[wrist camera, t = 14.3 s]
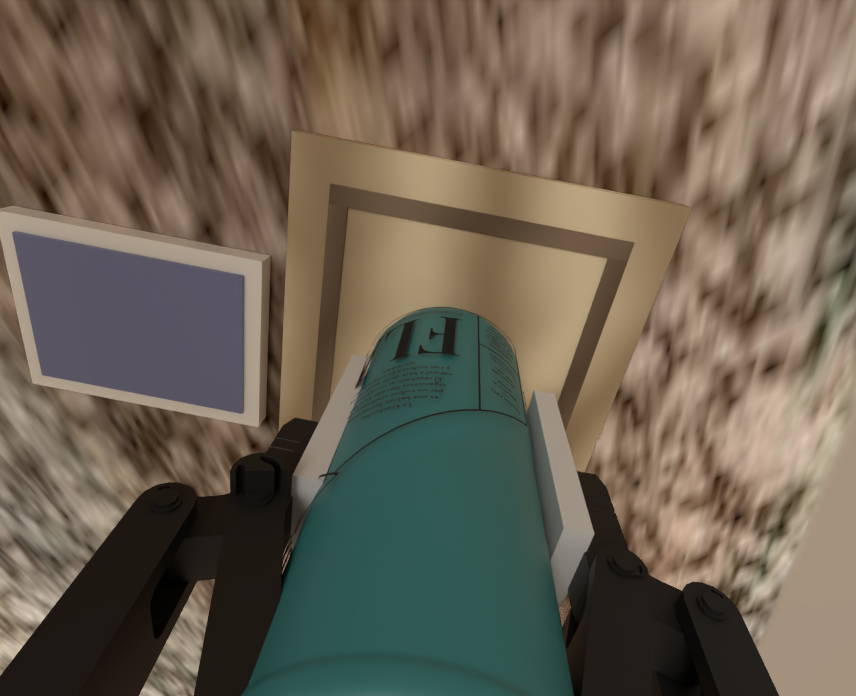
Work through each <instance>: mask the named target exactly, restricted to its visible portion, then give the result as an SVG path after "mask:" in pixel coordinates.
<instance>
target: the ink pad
mask: <svg viewBox="0 0 856 696" xmlns="http://www.w3.org/2000/svg"><path fill="white" fill-rule="evenodd" d="M0 239H1V243H2V248H3V252H4V257H5V261H6V266H7V270H8V275H9V279H10V284H11V288H12V293H13V297H14V302H15V306H16V311H17V315H18V320H19V324H20V329H21V333H22V338H23V342H24V347H25V351H26V356H27V360H28V365H29V369H30V374H31V378H32V383H33V384H38V385H43V386H48V387H53V388H58V389H64V390H69V391H74V392H79V393H84V394H89V395H94V396H100V397H105V398H110V399H115V400H120V401H125V402H130V403H136V404H141V405H146V406H151V407H156V408H161V409H166V410H172V411H177V412H182V413H187V414H192V415H197V416H202V417H208V418H213V419H218V420H223V421H228V422H233V423H238V424H244V425H249V426H254V427H259V426H260V425H261V423H262V422H263V420H264V419H265V417H266V400H267V365H268V330H269V295H270V261H271V256H270V255H265V254H260V253H254V252H249V251H244V250H239V249H234V248H229V247H223V246H218V245H213V244H208V243H203V242H198V241H193V240H187V239H182V238H177V237H172V236H167V235H162V234H156V233H151V232H146V231H141V230H136V229H131V228H126V227H120V226H115V225H110V224H105V223H100V222H95V221H90V220H84V219H79V218H74V217H69V216H64V215H59V214H53V213H48V212H43V211H38V210H33V209H28V208H23V207H17V206H10V207H5V208H0Z"/></svg>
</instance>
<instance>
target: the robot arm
mask: <svg viewBox="0 0 856 696" xmlns="http://www.w3.org/2000/svg"><path fill="white" fill-rule="evenodd" d="M369 360H370V358H368V359H367V357H362V356H357V355H352V357H351V359H350V361H349V363H348V365H347V367H346V369H345V371H344V373H343V375H342V377H341V379H340V381H339V383H338V385H337V387H336V389H335V391H334V393H333V395H332V397H331V399H330V401H329V403H328V405H327V407H326V409H325V411H324V413H323V415H322V417H321V419H320V421H319V422H316V421H311V420H305V419H300V418H293V419H292V420H290V421H289V422H287V423H286V424H284V425H283V426H282V428H281V429H280V431H279V433H278V434H277V436H276V439H274V441H273V442H272V444H271V447H269V449H268V451H267V452H266V453H256V454H250V455H247V456H245V457H242V458H240V459H239V460H238V461H237V462H236V463H234V464H233V466H232V468H231V470H230V492H231V493H229V494H225V495H219V496H207V497H196V494H195V491H194V490H193V489H192V488H191V487H190V486H188V485H185V484H182V483H169V482H168V483H164V484H159V485H156V486H154V487H152V488H150V489H148V490H146V491H145V492H144V493H142V494H141V495H140V496H139V497H138V498H137V499H136V501H135V502H134V503H133V505H132V506H131V507H130V509H129V510H128V511H127V512H126V514H125V515H124V516H123V518H122V519H121V520H120V521H119V523H118V524H117V525H116V527H115V528H114V529H113V531H112V532H111V533H110V534H109V536H108V537H107V538H106V540H105V541H104V542H103V544H102V545H101V546H100V547H99V549H98V550H97V551H96V553H95V554H94V555H93V556H92V558H91V559H90V560H89V562H88V563H87V564H86V566H85V567H84V568H83V569H82V571H81V572H80V573H79V575H78V576H77V577H76V579H75V580H74V581H73V582H72V584H71V585H70V586H69V588H68V589H67V590H66V591H65V593H64V594H63V595H62V597H61V598H60V599H59V601H58V602H57V603H56V604H55V606H54V607H53V608H52V610H51V611H50V612H49V614H48V615H47V616H46V617H45V619H44V620H43V621H42V623H41V624H40V625H39V626H38V628H37V629H36V630H35V632H34V633H33V634H32V636H31V637H30V638H29V639H28V641H27V642H26V643H25V645H24V646H23V647H22V649H21V650H20V651H19V652H18V654H17V655H16V656H15V658H14V659H13V660H12V662H11V663H10V664H9V665H8V667H7V668H6V669H5V671H4V672H3V673H2V675H1V676H0V696H139V694H140V692H141V690H142V688H143V686H144V684H145V682H146V680H147V678H148V676H149V674H150V672H151V670H152V669H153V667H154V665H155V663H156V661H157V659H158V657H159V655H160V653H161V651H162V649H163V647H164V645H165V643H166V641H167V639H168V637H169V635H170V633H171V631H172V629H173V627H174V625H175V624H176V622H177V620H178V618H179V616H180V614H181V612H182V610H183V608H184V606H185V604H186V602H187V600H188V598H189V596H190V594H191V592H192V590H193V588H194V586H195V584H196V582H197V581H200V580H209V579H215V584H214V589H213V594H212V600H211V605H210V611H209V616H208V621H207V627H206V632H205V638H204V643H203V649H202V654H201V659H200V665H199V670H198V676H197V681H196V687H195V692H194V696H241V695H242V693H243V692H244V691H245V689H246V688H247V686H248V684H249V682H250V679H251V676H252V674H253V671H254V668H255V666H256V663H257V660H258V658H259V655H260V652H261V650H262V647H263V644H264V642H265V639H266V636H267V634H268V631H269V628H270V626H271V623H272V620H273V618H274V615H275V612H276V610H277V607H278V604H279V602H280V596H281V577H282V557H283V553H284V550H285V548H286V546H287V543H288V544H290V543H289V541H290V542H291V540H292V544H291V545H290V547H289V549H288V553H289V550H290V548H291V547H292V550H293V548H294V545H295V543H296V540H297V538H298V535H299V533H300V530H301V528H302V525H303V523H304V520H305V518H306V515H307V513H308V510H309V508H310V506H309V505H310V504H311V502H312V501H313V499H314V496H315V495H316V493H317V492H318V490H319V488H320V487H321V485H322V484H323V482H324V480H325V477H326V476H323V477H320V478H319V476H320V475H322V474H327V472H328V470H329V467H330V465H331V462H332V460H333V457H334V455H335V452H336V450H337V447H338V445H339V442H340V440H341V437H342V435H343V432H344V430H345V427H346V425H347V422H348V420H349V419H348V417H349V416H350V414H351V413H350V412H351V410H352V409H353V407H354V404H355V402H356V399H357V397H358V394H359V393H358V392H359V391H360V389H361V386H362V384H363V381H364V379H365V378H364V377H365V376H366V373H367V371H368V368H369V366H370V363H371V361H370V363H369V365H368V367H367V369H366V370H365V368H366V366H367V364H368V362H369ZM371 360H372V359H371ZM365 362H366V363H365ZM364 364H365V367H364ZM363 367H364V370H365V372H364V371H363V372H364V374H363V376H362V378H361V379H363V378H364V379H363V380H362V381H361V382H360V383H359V384H358V385H357V386H356V384H357V382H358V379H359V377H360V374H361V372H362V369H363ZM355 387H356V388H355ZM357 393H358V394H357ZM355 395H356V396H355ZM354 400H355V401H354ZM351 402H352V404H351ZM350 404H351V405H350ZM526 416H527V422H528V428H529V434H530V440H531V446H532V452H533V461H534V471H535V477H536V483H537V488H538V494H539V500H540V505H541V511H542V517H543V523H544V528H545V534H546V540H547V545H548V551H549V557H550V562H551V568H552V574H553V579H554V585H555V591H556V596H557V602H558V606H562V605H563V602H564V600H565V598H566V596H567V593H568V594H569V599H570V604H571V609H570V612H569V614H568V616H567V618H566V620H565V622H564V624H563V627H562V630H563V636H564V642H565V648H566V653H567V659H568V665H569V670H570V676H571V682H572V687H573V693H574V696H779V695H778V693H777V690H776V688H775V686H774V684H773V682H772V680H771V678H770V676H769V673H768V671H767V669H766V667H765V665H764V663H763V661H762V658H761V656H760V654H759V652H758V650H757V648H756V646H755V644H754V641H753V639H752V637H751V635H750V633H749V631H748V629H747V627H746V624H745V622H744V620H743V618H742V616H741V614H740V612H739V611H738V609H737V608H736V606H735V604H734V603H733V602H732V601H731V600H730V599H729V598H728V597H727V596H726V595H725V594H723V593H722V592H720V591H719V590H717V589H716V588H714V587H712V586H710V585H707V584H705V583H701V582H691V583H689V584H687V585H686V586H685V587H684V589H683V591H681V590H679V589H677V588H674V587H672V586H670V585H668V584H666V583H663V582H661V581H659V580H657V579H655V578H654V577H652V576H650V575H649V573H648V569H647V567H646V566H645V565H644V563H643V562H642V560H641V559H640V558H639V557H637V556H636V555H635V554H634V553H633V552H631V551H629V550H628V547H627V544H626V542H625V539H624V536H623V533H622V530H621V527H620V525H619V522H618V519H617V516H616V513H614V511H615V510H614V508H613V505H612V503H611V499H610V496H609V493H608V491H607V488H606V486H605V485H604V484H603V483H602V481H601V480H600V479H599V478H598V477H597V475H595V474H590V473H585V472H580V471H576V467H575V464H574V460H573V457H572V453H571V450H570V446H569V443H568V439H567V436H566V432H565V429H564V425H563V422H562V418H561V415H560V411H559V408H558V404H557V401H556V397H555V394H553V393H548V392H543V391H538V390H534V391H533V394H532V398H531V401H530V404H529V407H528V410H527V413H526ZM308 507H309V508H308ZM307 508H308V509H307ZM306 510H307V511H306ZM305 511H306V512H305ZM301 512H302V513H301ZM304 513H305V514H304ZM303 514H304V515H303ZM302 515H303V517H302ZM299 517H300V518H299ZM301 517H302V518H301ZM298 519H299V520H298ZM300 519H301V520H300ZM299 521H300V523H298V522H299ZM296 524H299V525H296ZM296 526H298V528H297V527H296ZM295 528H297V530H296V533H295ZM293 531H294V532H293ZM292 533H293V536H291V535H292ZM290 537H292V538H290ZM290 539H291V540H290ZM288 546H289V545H288ZM289 554H290V553H289Z"/></svg>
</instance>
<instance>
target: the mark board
mask: <svg viewBox="0 0 856 696" xmlns="http://www.w3.org/2000/svg"><path fill="white" fill-rule="evenodd" d="M691 209H692V208H690V207H688V206H686V205H682V204H677V203H672V202H667V201H662V200H657V199H651V198H646V197H641V196H636V195H631V194H626V193H620V192H615V191H610V190H605V189H600V188H595V187H589V186H584V185H579V184H574V183H569V182H564V181H559V180H553V179H548V178H543V177H538V176H533V175H528V174H522V173H517V172H512V171H507V170H502V169H497V168H491V167H486V166H481V165H476V164H471V163H466V162H460V161H455V160H450V159H445V158H440V157H435V156H430V155H424V154H419V153H414V152H409V151H404V150H399V149H393V148H388V147H383V146H378V145H373V144H368V143H362V142H357V141H352V140H347V139H342V138H337V137H331V136H326V135H321V134H316V133H311V132H306V131H300V130H294V131H292V139H291V162H290V185H289V208H288V231H287V254H286V277H285V300H284V322H283V345H282V368H281V391H280V414H279V431H280V429H281V428H282V426H283V425H284V424H286V423H287V422H289V421H290V420H292V419H293V418H300V419H305V420H311V421H316V422H319V421H320V419H321V417H322V415H323V413H324V411H325V409H326V407H327V405H328V403H329V401H330V399H331V397H332V395H333V393H334V391H335V389H336V387H337V385H338V383H339V381H340V379H341V377H342V375H343V373H344V371H345V369H346V367H347V365H348V363H349V361H350V359H351V357H352V355H357V356H362V357H366V356H367V355H368V356H367V358H368V357H369V356H371V353H372V351H373V349H374V347H375V345H376V343H377V341H378V340H379V339H380V337H381V336H382V335H383V333H384V332H385V331H386V329H387V328H389V327H390V326H392V325H393V324H394V323H396V322H397V321H398V320H400V319H401V318H403V317H405V316H407V315H408V314H407V313H409V314H410V312H411V313H413V312H412V311H414V312H415V311H416V310H419V309H423V308H431V307H451V308H458V309H462V310H466V311H469V312H472V313H474V314H477V315H479V316H481V317H483V318H485V319H487V320H488V321H487V320H486V321H487V322H489V321H490V322H491V323H490V322H489V323H490V324H491V325H493V324H494V325H493V326H494V327H495V328H496V329H497V330H498V331H499V332H500V333H501V334H502V335H503V336H504V337H505V338H506V340H507V341H508V343H509V344H510V346H511V348H512V350H513V352H514V354H515V352H516V358H517V362H518V367H519V373H520V379H521V385H522V391H523V392H524V393H523V397H524V396H525V398H524V403H525V401H526V406H525V410H526V413H527V410H528V407H529V404H530V401H531V398H532V394H533V391H534V390H538V391H543V392H548V393H553V394H555V397H556V401H557V404H558V408H559V411H560V415H561V418H562V422H563V425H564V429H565V432H566V436H567V439H568V443H569V446H570V450H571V453H572V457H573V460H574V464H575V467H576V471H580V472H585V470H586V467H587V465H588V462H589V460H590V458H591V455H592V453H593V450H594V448H595V445H596V443H597V440H598V438H599V435H600V433H601V431H602V428H603V426H604V423H605V421H606V418H607V416H608V413H609V411H610V408H611V406H612V403H613V401H614V399H615V396H616V394H617V391H618V389H619V386H620V384H621V381H622V379H623V376H624V374H625V372H626V369H627V367H628V364H629V362H630V359H631V357H632V354H633V352H634V349H635V347H636V345H637V342H638V340H639V337H640V335H641V332H642V330H643V327H644V325H645V322H646V320H647V318H648V315H649V313H650V310H651V308H652V305H653V303H654V300H655V298H656V295H657V293H658V291H659V288H660V286H661V283H662V281H663V278H664V276H665V273H666V271H667V268H668V266H669V264H670V261H671V259H672V256H673V254H674V251H675V249H676V246H677V244H678V241H679V239H680V236H681V234H682V232H683V229H684V227H685V224H686V222H687V219H688V217H689V214H690V212H691ZM405 314H406V315H405ZM403 315H404V316H403ZM401 316H402V317H401ZM399 317H400V318H399ZM397 318H398V319H397ZM396 319H397V320H396ZM394 320H395V321H394ZM391 322H392V323H391ZM390 323H391V324H390ZM492 323H493V324H492ZM387 325H388V326H387ZM495 325H496V326H497V327H498V328H499V329H498V328H497V327H496V326H495ZM386 326H387V327H386ZM385 327H386V328H385ZM384 328H385V329H384ZM383 329H384V330H383ZM382 330H383V331H382ZM381 331H382V332H381ZM502 331H503V332H504V333H505V334H504V333H503V332H502ZM378 334H379V335H380V336H379V335H378ZM507 337H508V338H509V339H510V340H509V339H508V338H507ZM375 338H376V339H375ZM374 339H375V340H376V341H375V340H374ZM511 342H512V343H511ZM373 343H374V344H373ZM513 345H514V346H513ZM371 346H372V347H371ZM514 348H515V350H514ZM369 358H370V357H369ZM526 407H527V409H526Z"/></svg>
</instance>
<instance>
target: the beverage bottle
mask: <svg viewBox="0 0 856 696" xmlns="http://www.w3.org/2000/svg"><path fill="white" fill-rule="evenodd" d="M412 312H413V313H411V312H410V314H409V313H407V314H408V315H407V316H405V317H403V318H401V319H400V320H398V321H397V322H396V323H394V324H393V325H392V326H390V327H389V328H387V329H386V331H385V332H384V333H383V335H382V336H381V337H380V339H379V340H378V341H377V343H376V345H375V347H374V349H373V351H372V353H371V356H369V357H370V360H369V362H368V364H367V366H366V368H365V370H366V369H367V367H368V365H369V363H370V361H371V363H370V366H369V368H368V371H367V373H366V376H365V377H364V378H365V379H364V378H363V379H364V381H363V384H362V386H361V389H360V391H359V392H358V393H359V394H358V393H357V394H358V397H357V399H356V402H355V404H354V407H353V409H352V410H351V412H350V413H351V414H350V416H349V417H348V419H349V420H348V422H347V425H346V427H345V430H344V432H343V435H342V437H341V440H340V442H339V445H338V447H337V450H336V452H335V455H334V457H333V460H332V462H331V465H330V467H329V470H328V472H327V474H322V475H320V476H319V478H320V477H323V476H326V477H325V480H324V482H323V484H322V485H321V487H320V488H319V490H318V492H317V493H316V495H315V496H314V499H313V501H312V502H311V504H310V505H309V506H310V508H309V507H308V508H309V510H308V513H307V515H306V518H305V520H304V523H303V525H302V528H301V530H300V533H299V535H298V538H297V540H296V543H295V545H294V548H293V550H292V547H291V548H290V550H289V553H290V557H289V560H288V562H287V565H286V567H285V570H284V572H283V574H282V577H281V579H282V580H281V596H280V602H279V604H278V607H277V610H276V612H275V615H274V618H273V620H272V623H271V626H270V628H269V631H268V634H267V636H266V639H265V642H264V644H263V647H262V650H261V652H260V655H259V658H258V660H257V663H256V666H255V668H254V671H253V674H252V676H251V679H250V682H249V684H248V686H247V688H246V689H245V691H244V692H243V693H242V695H241V696H574V693H573V687H572V682H571V676H570V670H569V665H568V659H567V653H566V648H565V642H564V636H563V630H562V625H561V619H560V613H559V608H558V602H557V596H556V591H555V585H554V579H553V574H552V568H551V562H550V557H549V551H548V545H547V540H546V534H545V528H544V523H543V517H542V511H541V505H540V500H539V494H538V488H537V483H536V477H535V471H534V461H533V452H532V446H531V440H530V434H529V428H528V422H527V416H526V410H525V406H526V401H525V403H524V398H525V396H524V397H523V393H524V392H523V391H522V385H521V379H520V373H519V367H518V362H517V358H516V352H515V354H514V352H513V350H512V348H511V346H510V344H509V343H508V341H507V340H506V338H505V337H504V336H503V335H502V334H501V333H500V332H499V331H498V330H497V329H496V328H495V327H494V326H493V325H494V324H493V323H492V324H493V325H491V324H490V323H491V322H490V321H489V322H490V323H489V322H487V321H488V320H487V319H485V318H483V317H481V316H479V315H477V314H474V313H472V312H469V311H466V310H462V309H458V308H451V307H431V308H423V309H419V310H416V311H415V312H414V311H412ZM405 315H406V314H405ZM403 316H404V315H403ZM401 317H402V316H401ZM399 318H400V317H399ZM397 319H398V318H397ZM397 319H396V320H397ZM486 320H487V321H486ZM394 321H395V320H394ZM391 323H392V322H391ZM391 323H390V324H391ZM387 326H388V325H387ZM387 326H386V327H387ZM495 326H496V325H495ZM386 327H385V328H386ZM496 327H497V326H496ZM385 328H384V329H385ZM497 328H498V327H497ZM384 329H383V330H384ZM498 329H499V328H498ZM383 330H382V331H383ZM382 331H381V332H382ZM502 332H503V331H502ZM503 333H504V332H503ZM504 334H505V333H504ZM378 335H379V334H378ZM379 336H380V335H379ZM507 338H508V337H507ZM375 339H376V338H375ZM375 339H374V340H375ZM508 339H509V338H508ZM509 340H510V339H509ZM375 341H376V340H375ZM511 343H512V342H511ZM373 344H374V343H373ZM513 346H514V345H513ZM371 347H372V346H371ZM514 350H515V348H514ZM367 356H368V355H367ZM367 356H366V357H367ZM369 357H368V358H369ZM368 358H367V359H368ZM371 359H372V360H371ZM365 363H366V362H365ZM364 367H365V364H364ZM364 367H363V369H362V372H361V374H360V377H359V379H358V382H357V384H356V386H357V385H358V384H359V383H360V382H361V381H362V380H363V379H361V378H362V376H363V374H364V372H365V370H364ZM363 371H364V372H363ZM355 388H356V387H355ZM355 396H356V395H355ZM354 401H355V400H354ZM351 404H352V402H351ZM351 404H350V405H351ZM526 409H527V407H526ZM308 508H307V509H308ZM306 511H307V510H306ZM306 511H305V512H306ZM301 513H302V512H301ZM304 514H305V513H304ZM304 514H303V515H304ZM303 515H302V517H303ZM302 517H301V518H302ZM299 518H300V517H299ZM298 520H299V519H298ZM300 520H301V519H300ZM298 523H300V521H299V522H298ZM296 525H299V524H296ZM296 527H297V528H298V526H296ZM297 528H295V533H296V530H297ZM293 532H294V531H293ZM291 536H293V533H292V535H291ZM290 538H292V537H290ZM290 540H291V539H290ZM289 543H290V544H288V545H289V546H287V549H286V548H285V549H286V551H285V553H284V556H283V557H285V554H286V552H287V550H288V549H289V547H290V545H291V544H292V540H291V542H290V541H289ZM289 553H288V555H289ZM288 555H287V557H286V560H287V558H288ZM282 560H284V558H282ZM286 560H285V562H284V565H285V563H286ZM282 564H283V561H282ZM284 565H283V567H284ZM283 567H282V570H283Z"/></svg>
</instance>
